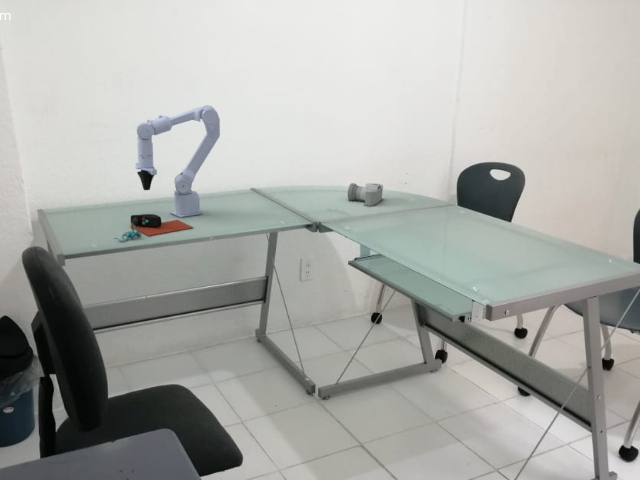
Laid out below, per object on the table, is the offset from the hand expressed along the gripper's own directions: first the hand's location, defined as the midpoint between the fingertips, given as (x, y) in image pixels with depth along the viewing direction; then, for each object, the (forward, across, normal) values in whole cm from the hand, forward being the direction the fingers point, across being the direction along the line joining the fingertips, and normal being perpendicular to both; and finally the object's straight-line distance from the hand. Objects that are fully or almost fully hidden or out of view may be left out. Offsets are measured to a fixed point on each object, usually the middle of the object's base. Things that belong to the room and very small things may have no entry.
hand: (146, 189), depth 238 cm
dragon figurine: (+11, +24, -19) cm, 33 cm away
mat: (+10, +19, -3) cm, 22 cm away
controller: (+9, +11, -2) cm, 14 cm away
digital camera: (+7, +32, +91) cm, 97 cm away
